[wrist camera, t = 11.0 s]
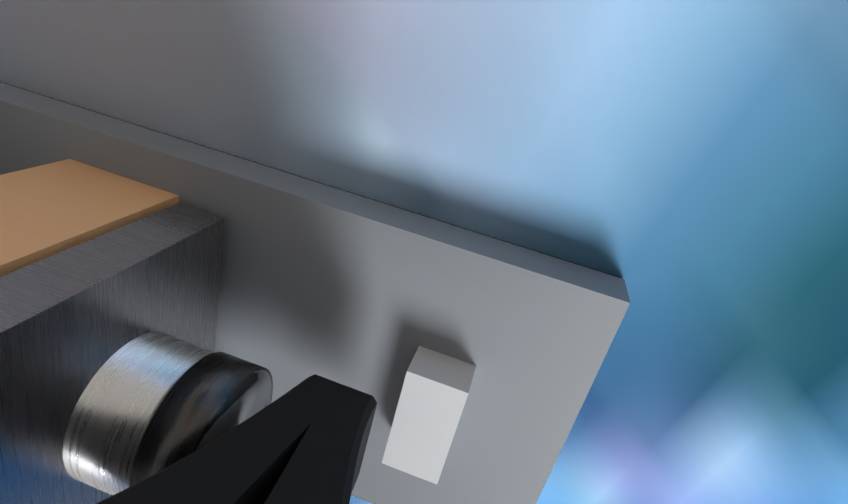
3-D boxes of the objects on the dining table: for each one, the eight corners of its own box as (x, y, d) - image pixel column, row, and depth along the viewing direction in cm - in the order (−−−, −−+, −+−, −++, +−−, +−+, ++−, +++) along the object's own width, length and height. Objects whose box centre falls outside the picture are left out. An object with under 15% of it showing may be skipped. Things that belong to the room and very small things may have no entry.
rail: (624, 279, 10) (682, 514, 5) (514, 521, 13) (481, 823, 8) (-146, 35, 12) (-621, 30, 7) (-92, 285, 15) (-406, 401, 10)
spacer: (81, 362, 13) (-212, 555, 8) (69, 158, 11) (-345, 255, 6) (170, 398, 13) (-78, 622, 8) (178, 195, 11) (-164, 330, 6)
